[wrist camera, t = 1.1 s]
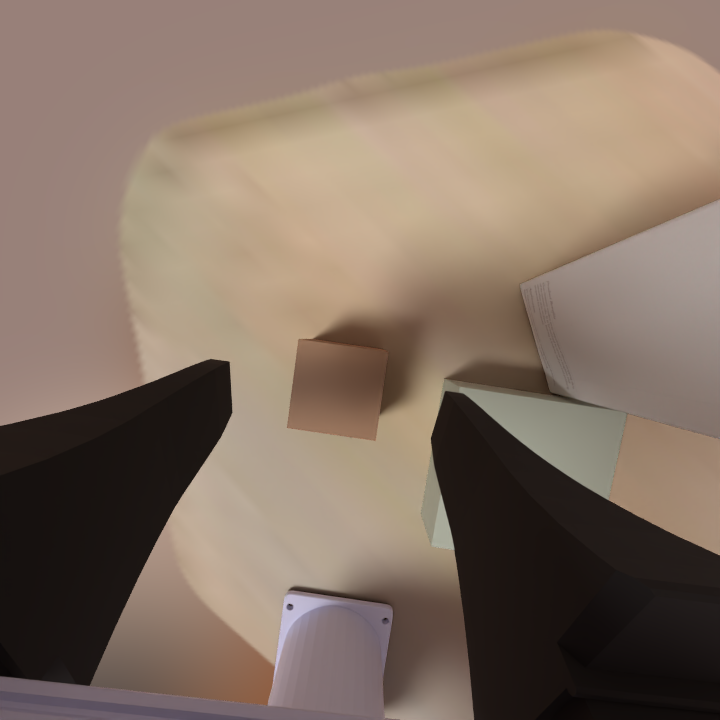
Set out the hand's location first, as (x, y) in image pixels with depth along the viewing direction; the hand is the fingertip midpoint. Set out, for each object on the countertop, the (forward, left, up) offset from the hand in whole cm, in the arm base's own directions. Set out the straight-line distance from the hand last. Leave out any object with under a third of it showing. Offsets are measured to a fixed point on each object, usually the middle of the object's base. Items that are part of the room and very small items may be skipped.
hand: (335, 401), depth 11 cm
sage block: (-5, -12, -12) cm, 17 cm away
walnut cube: (-1, 0, -12) cm, 12 cm away
